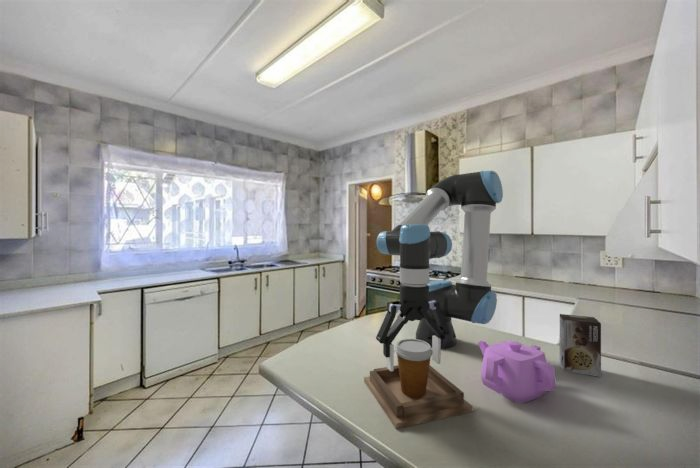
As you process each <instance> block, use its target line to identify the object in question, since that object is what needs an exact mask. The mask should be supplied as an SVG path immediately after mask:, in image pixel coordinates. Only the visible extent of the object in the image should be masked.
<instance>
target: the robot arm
mask: <svg viewBox="0 0 700 468" xmlns="http://www.w3.org/2000/svg"><path fill="white" fill-rule="evenodd" d="M503 190H504V189H503V186H502V180H501V179H500V176H499V174H498V173H497V172H496V171H494V170H481V171H477V172H476V171H475V172H469V173H468V172H466V173H461V174H454V175H450V176H448V177H445V178H443V179H442V180H440V181H438V182H436V183H435V184H434V185H433V186H431V188H429V189H427V192H426V193H425V197H424V198H423V199H422V200H421V201H420V202H418V204H417V205H416V206H415V207H414V208H413V209H412V210H411V211H410V212H409V213H408V214H407V215H406V216H405V217H403V219H402V220H401V221H400V222H399V223H397V225H396V226H395V227H393V229H392V230H386V231H381V232H379V234H378V235H377V237H376V247H377V250H378V252H380V254H383V255H388V256H399V282H400V284H399V296H398V297H399V303H398V304H393V303H391V302H388V305H387V312H386V314H385V316H384V319H383V321H382V323H381V325H380V327H379V330H378V332H377V334H376V337H375V339H376V341H377V342H379V343H380V344H381V345H383V346H382V347H383V349H382V352H383V353H382V354H383V356H384V357H385V358H386V360H385V362H386V364H385V367H387V368H388V369H389V370H390V371H391V372H392V371H394V366H395V365H394V363H395V362H394V361H395V360H394V357H395V355H394V354H395V353H394V352H395V346H394V344H393V341H394V340H395V339H396V337H397V336H398V335H399V333H400V332H401V330H402V328H403V327H404V325H406V324H408V322H409V321H410V322H414V321H419V322H418V325H417V328H416V331H415V339H418V340H422V341H425V342H427V343H428V344H430V346H431V349H432V351H433V354H432V356H431V360H432V361H433V362H434V363H435V364H438V365H439V364H440V365H441V355H442V354H441V351H442V350H443V349H447V348H451V347H454V346H455V345H456V344H457V335H456V332H455V329H454V326H453V323H452V318H453V319H457V320H461V321H466V322H470V323H472V324H479V325H480V324H481V325H486V324H489V323H490V322H491V320H492V319H493V317H494V315H495V312H496V308H497V303H498V298H497V293H496V292H495V291H493V290H492V284H491V283H490V282H489V281H488V266H489V265H488V264H489V247H490V233H491V232H490V230H491V215H492V212H494V211H495V210H496V207H497V204H499V203H501V202H502V201H503V197H504V195H503V194H504V191H503ZM450 206H460V209H461V210H462V211H463V212H464V223H463V238H462V252H461V254H462V255H461V268H460V269H461V270H460V271H461V272H460V277H459V278H458V279H457V280H456V281H455V285H453V283H452V281H451V280H447V279H446V280H445V279H438V280H437V279H436V280H430V260H431V259H441V258H443V257H446V256H448V254H450V253H451V251H452V248H453V241H452V238H451V237H450V235H448V234H447V233H446V232H443V231H440V230H438V231H430V230H431V229H430V226H429V225H430V223H431V222H432V221H433V220H434V219H435V218H436V217H437V215H438V214H439V213H440V212H441V211H445V210H446V209H447V208H448V207H450ZM398 312H399V313H398ZM397 314H398V315H397ZM396 315H397V317H396ZM395 318H396V319H395Z"/></svg>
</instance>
